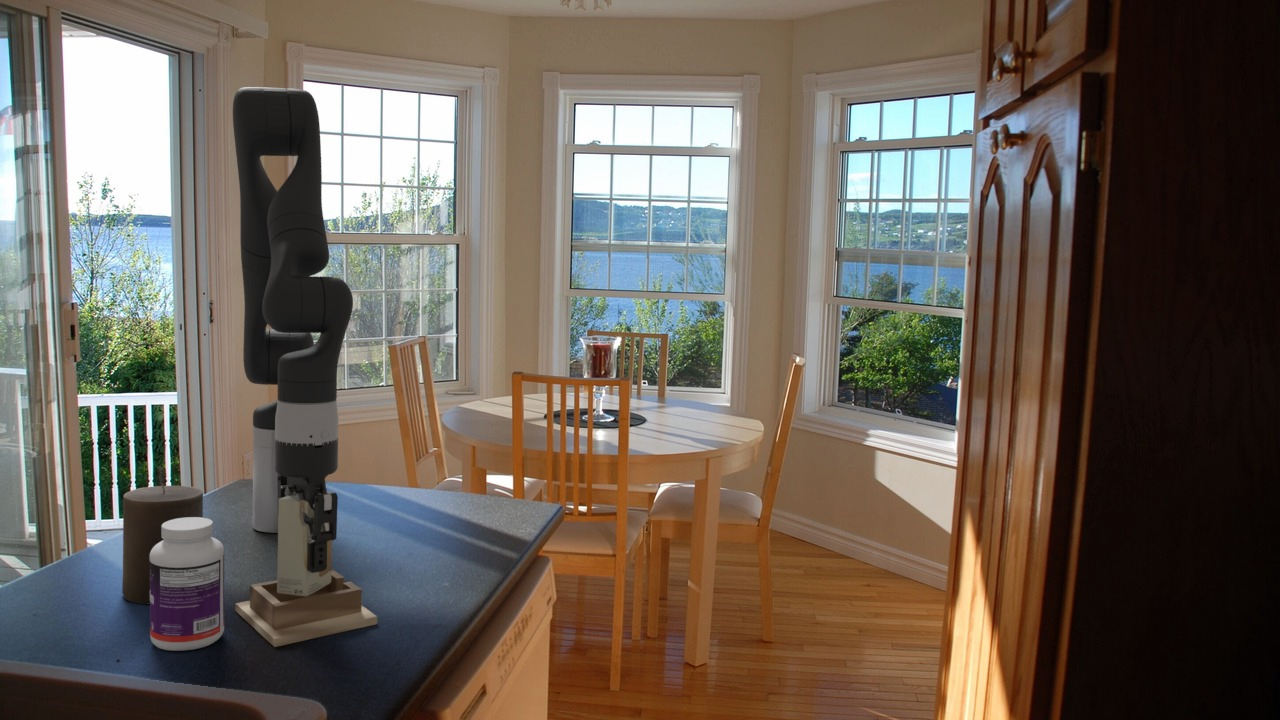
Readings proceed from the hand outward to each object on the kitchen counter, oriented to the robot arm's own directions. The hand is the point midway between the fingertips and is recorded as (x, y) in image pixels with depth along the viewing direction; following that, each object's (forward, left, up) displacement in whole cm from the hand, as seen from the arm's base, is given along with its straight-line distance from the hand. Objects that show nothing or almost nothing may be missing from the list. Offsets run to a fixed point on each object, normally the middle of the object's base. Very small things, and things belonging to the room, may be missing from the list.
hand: (305, 562), depth 124 cm
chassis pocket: (0, 0, -7) cm, 7 cm away
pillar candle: (-19, -12, -7) cm, 24 cm away
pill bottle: (0, -14, -7) cm, 16 cm away
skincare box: (0, 0, -4) cm, 4 cm away
